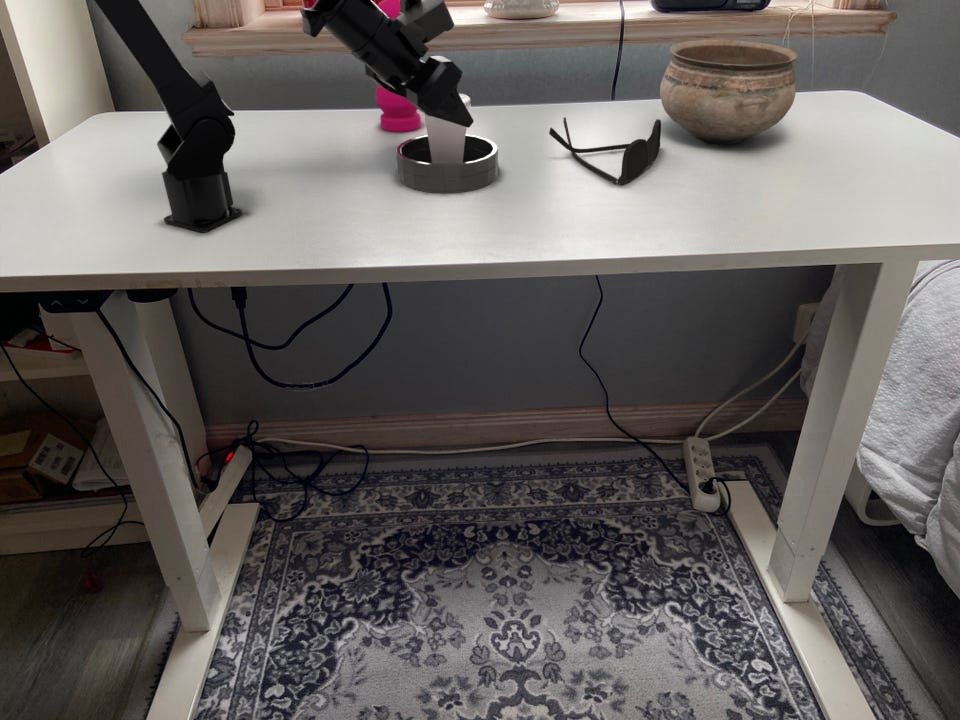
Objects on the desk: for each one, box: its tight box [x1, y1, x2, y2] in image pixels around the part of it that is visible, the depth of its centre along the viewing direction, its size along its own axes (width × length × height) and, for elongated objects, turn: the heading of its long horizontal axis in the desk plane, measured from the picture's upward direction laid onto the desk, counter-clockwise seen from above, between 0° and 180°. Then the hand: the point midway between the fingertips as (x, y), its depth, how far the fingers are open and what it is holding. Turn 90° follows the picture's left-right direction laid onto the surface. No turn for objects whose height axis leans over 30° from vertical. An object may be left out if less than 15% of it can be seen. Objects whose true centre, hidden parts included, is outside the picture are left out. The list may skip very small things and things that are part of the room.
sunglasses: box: [548, 116, 662, 185], centre depth 103 cm, size 17×14×5 cm
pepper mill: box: [375, 0, 421, 133], centre depth 114 cm, size 7×7×20 cm
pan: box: [395, 133, 499, 194], centre depth 99 cm, size 13×13×4 cm
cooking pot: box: [659, 39, 799, 145], centre depth 110 cm, size 25×19×12 cm
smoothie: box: [423, 92, 472, 164], centre depth 96 cm, size 6×6×14 cm
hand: (455, 115), depth 96 cm, fingers open, 9 cm apart
